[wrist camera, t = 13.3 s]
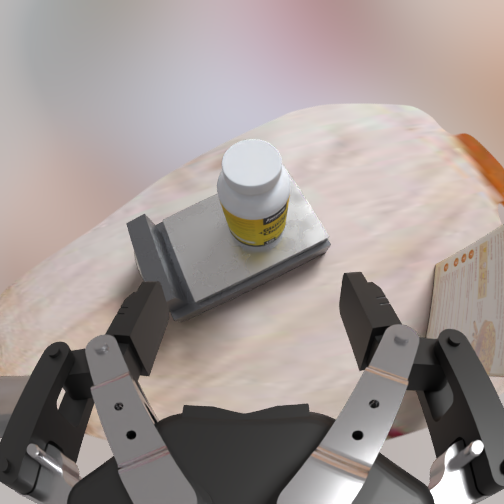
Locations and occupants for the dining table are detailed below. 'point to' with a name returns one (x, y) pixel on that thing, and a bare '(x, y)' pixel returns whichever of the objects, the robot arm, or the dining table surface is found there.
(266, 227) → the pill bottle
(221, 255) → the pan
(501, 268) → the coffeecake box
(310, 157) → the dining table surface
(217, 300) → the kitchen scale
